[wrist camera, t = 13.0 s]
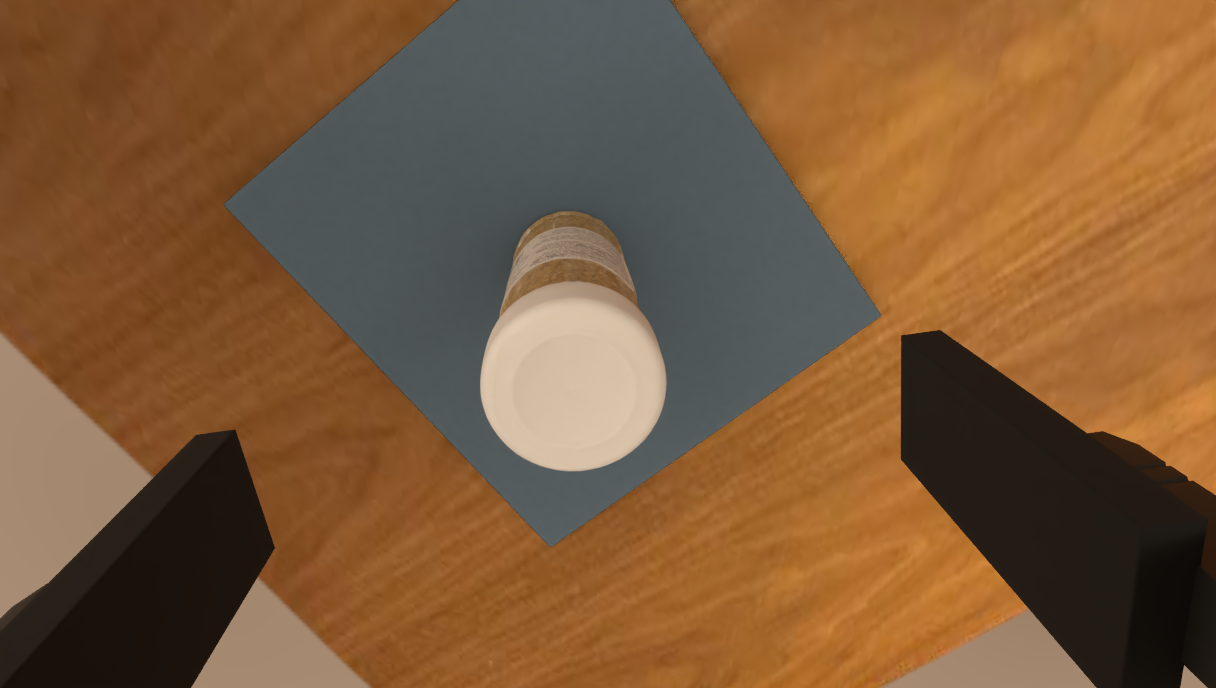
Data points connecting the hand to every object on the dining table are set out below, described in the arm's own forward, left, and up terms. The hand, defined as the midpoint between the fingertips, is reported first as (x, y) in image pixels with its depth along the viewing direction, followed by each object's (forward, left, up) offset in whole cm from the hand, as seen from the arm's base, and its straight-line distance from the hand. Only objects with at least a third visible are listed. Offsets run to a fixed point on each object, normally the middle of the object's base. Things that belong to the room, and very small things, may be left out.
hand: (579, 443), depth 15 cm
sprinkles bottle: (0, 0, -17) cm, 17 cm away
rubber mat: (0, 0, -17) cm, 17 cm away
